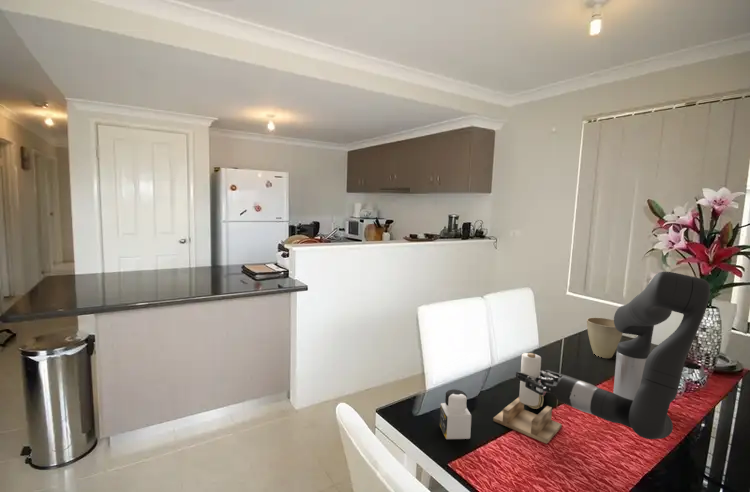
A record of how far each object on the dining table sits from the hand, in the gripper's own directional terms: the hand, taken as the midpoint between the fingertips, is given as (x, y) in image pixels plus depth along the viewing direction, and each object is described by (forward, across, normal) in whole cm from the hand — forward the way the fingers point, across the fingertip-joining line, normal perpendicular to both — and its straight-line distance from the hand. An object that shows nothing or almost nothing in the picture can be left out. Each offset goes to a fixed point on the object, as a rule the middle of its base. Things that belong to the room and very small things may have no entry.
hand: (522, 372), depth 115 cm
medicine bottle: (+7, +22, +16) cm, 28 cm away
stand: (-2, 0, +15) cm, 15 cm away
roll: (-3, 0, +8) cm, 8 cm away
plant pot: (+11, -83, +15) cm, 85 cm away
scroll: (+6, -18, +16) cm, 25 cm away
